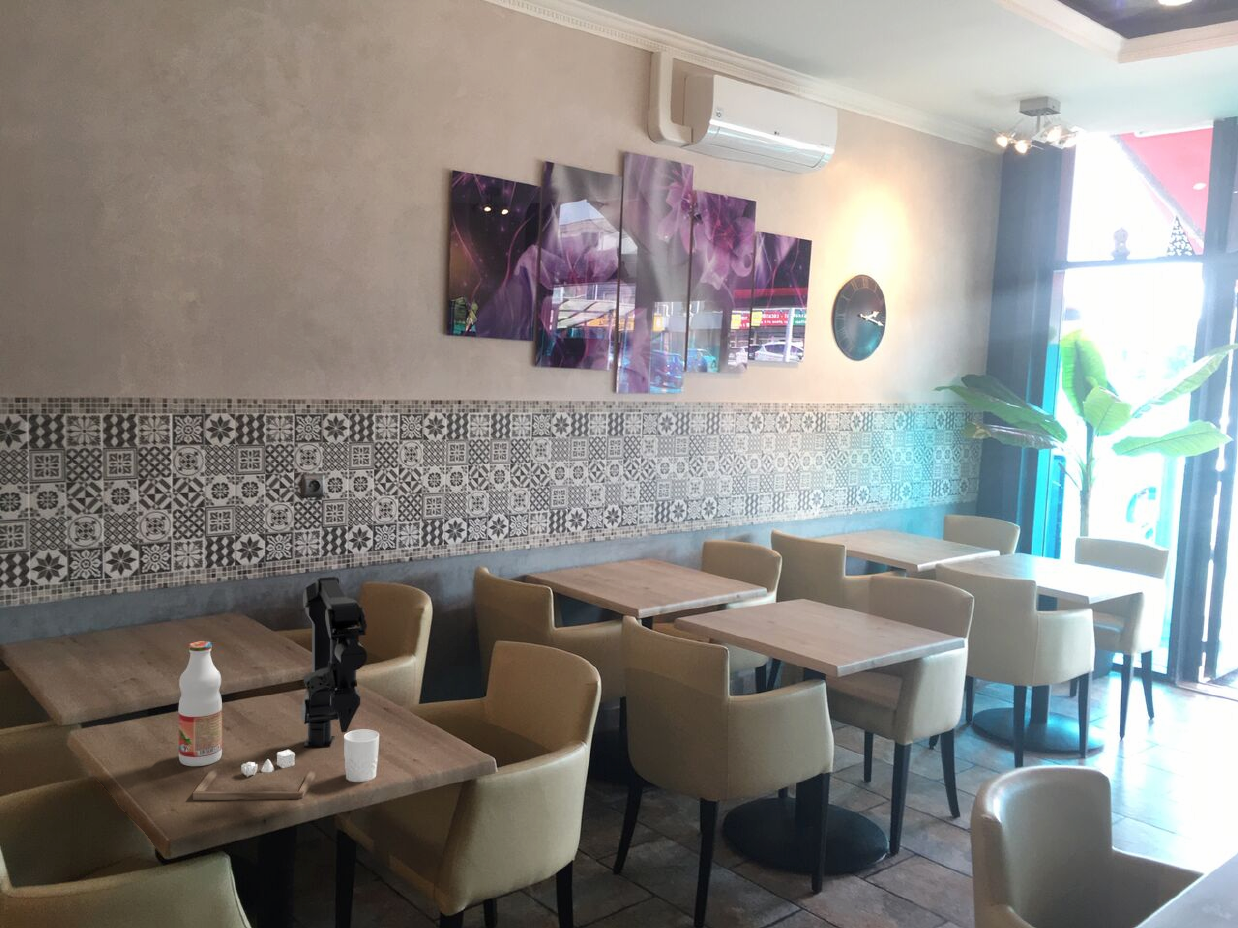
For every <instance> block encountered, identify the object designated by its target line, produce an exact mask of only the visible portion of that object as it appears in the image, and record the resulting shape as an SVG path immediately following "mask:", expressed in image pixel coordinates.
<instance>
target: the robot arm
mask: <svg viewBox="0 0 1238 928" xmlns="http://www.w3.org/2000/svg"><path fill="white" fill-rule="evenodd" d="M343 590H344V589H342V586H341V584H340V580H339V577H337V576H323V577H318V578H316V580H315V582H313V583H311V584H310V585H308V586H306V587H305V589H304V592H303V593H302V594H303V595H302V606H303V609H305V613H306V615H307V617H308V618H309V620H310V621H311V630H312V631H311V634H312V635H311V648H312V649H311V651H312V653H311V670H312V671H311V672H309V673H306V674H305V675H304V676H302V677H303V683H304V685H305V689H306V690H305V696H304V697H305V698H304V699H303V700H302V704H301V705H300V706H301V707H300V720H301V721H302V722H303V724H304V725H307V739H306V740H305V742H304V744H303V747H304V748H331V746H332V744H333V743H334V741H335V739H336V736H335V735H332V721H334V720H335V721H337V720H338V722H339V727H340V731H341V733H348V729H349V727H350V725H351V723H352V721H353V719H354V717H355V714H356V712H357V711H358V709H359V708H360V706H361V694H360V692H359V690H357V688H356V687H358V681H357V671H358V670H360V669H362V667H364V665H365V664H366V663H367V659H368V653H367V651H366V649H365V648H364V647H363V645H362V644H361V642H360V640H359V639H360V637H363V636H366V634H367V633H366V631H367V628H368V625H367V621H366V617H365V612H364V610H363V607H362V606H361V605H360V604H359V602H358V601H357V600H356V599H354V598H350V597H347V596H346V594H345V592H344V591H343Z"/></svg>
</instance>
